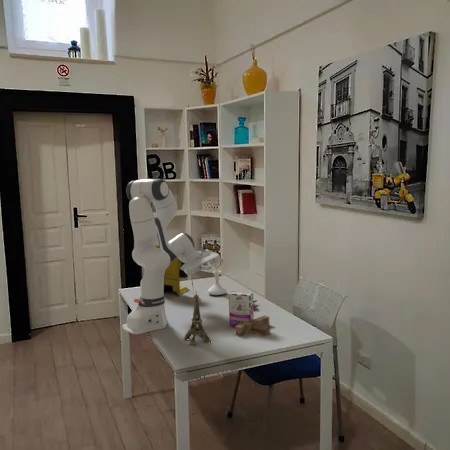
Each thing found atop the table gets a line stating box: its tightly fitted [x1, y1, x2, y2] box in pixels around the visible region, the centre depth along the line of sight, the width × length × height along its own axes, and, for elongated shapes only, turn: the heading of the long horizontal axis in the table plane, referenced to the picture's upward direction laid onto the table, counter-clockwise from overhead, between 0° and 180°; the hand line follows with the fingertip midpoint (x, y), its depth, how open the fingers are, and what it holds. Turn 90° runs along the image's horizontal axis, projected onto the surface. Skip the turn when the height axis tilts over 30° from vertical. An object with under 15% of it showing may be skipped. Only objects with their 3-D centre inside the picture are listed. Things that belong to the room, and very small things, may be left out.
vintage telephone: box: [155, 244, 195, 297], centre depth 276 cm, size 31×14×30 cm, turn 63°
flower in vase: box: [207, 252, 227, 296], centre depth 272 cm, size 13×11×25 cm
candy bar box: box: [228, 290, 255, 327], centre depth 220 cm, size 11×5×16 cm, turn 68°
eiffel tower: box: [183, 292, 212, 347], centre depth 202 cm, size 11×11×25 cm
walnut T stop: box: [234, 315, 271, 337], centre depth 212 cm, size 20×11×4 cm, turn 133°
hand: (209, 268), depth 232 cm, fingers closed
